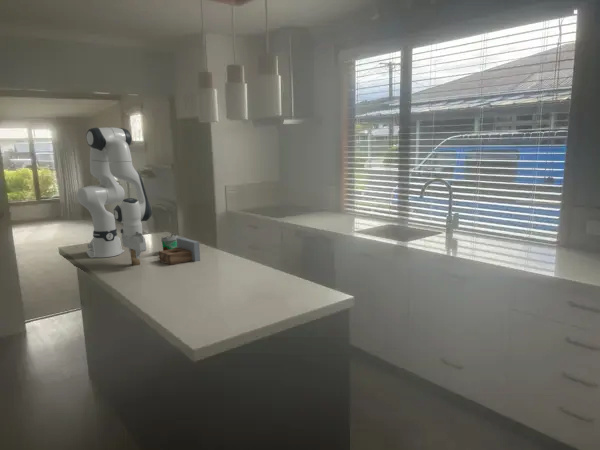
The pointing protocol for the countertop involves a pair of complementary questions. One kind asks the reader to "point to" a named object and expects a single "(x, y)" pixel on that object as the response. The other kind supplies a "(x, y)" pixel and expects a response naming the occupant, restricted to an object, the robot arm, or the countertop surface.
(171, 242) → the green rounded container
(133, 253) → the dowel
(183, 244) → the wall
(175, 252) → the block
